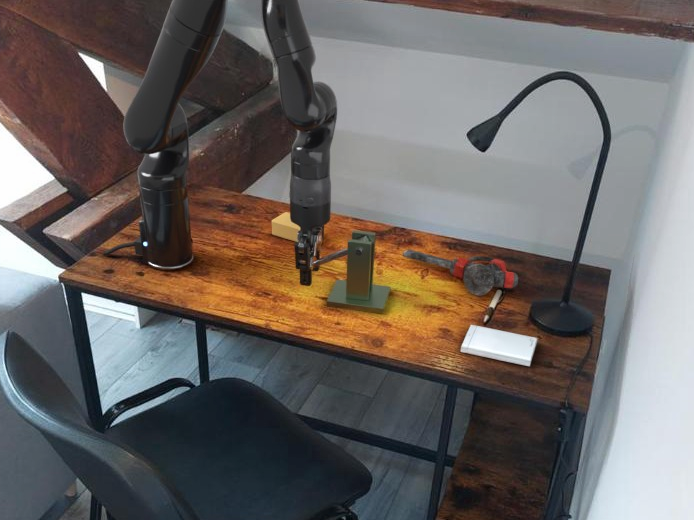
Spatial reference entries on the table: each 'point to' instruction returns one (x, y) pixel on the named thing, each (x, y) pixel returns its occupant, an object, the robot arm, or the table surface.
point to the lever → (333, 255)
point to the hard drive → (499, 345)
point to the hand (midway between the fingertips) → (309, 277)
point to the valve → (472, 271)
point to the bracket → (360, 278)
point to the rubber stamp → (285, 227)
